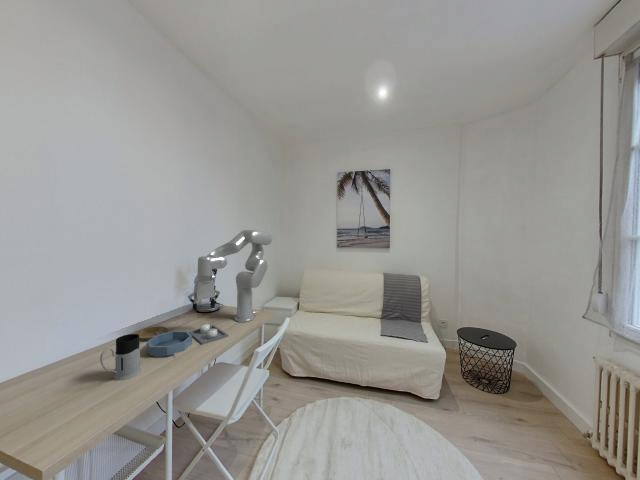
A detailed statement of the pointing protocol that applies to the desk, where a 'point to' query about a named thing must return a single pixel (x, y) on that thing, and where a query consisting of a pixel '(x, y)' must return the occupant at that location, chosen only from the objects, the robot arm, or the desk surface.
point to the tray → (203, 337)
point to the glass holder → (126, 357)
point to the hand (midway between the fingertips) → (204, 308)
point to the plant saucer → (150, 332)
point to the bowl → (169, 343)
